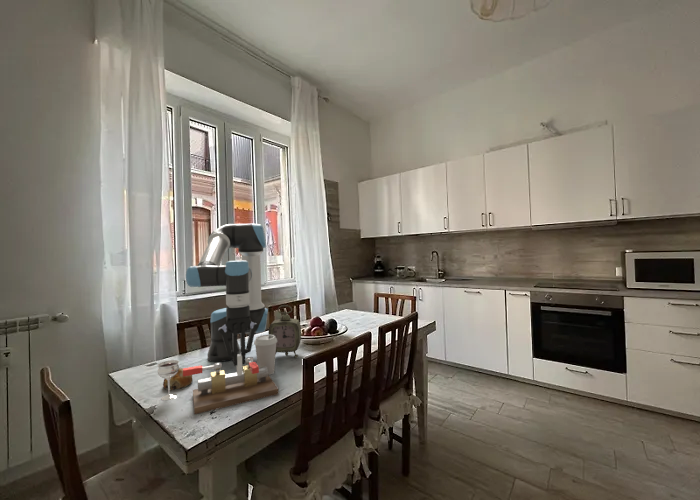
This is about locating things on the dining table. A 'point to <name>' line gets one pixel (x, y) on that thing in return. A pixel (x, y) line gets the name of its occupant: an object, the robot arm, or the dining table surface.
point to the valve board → (233, 395)
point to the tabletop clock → (286, 333)
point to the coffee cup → (266, 352)
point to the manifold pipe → (230, 380)
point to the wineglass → (168, 375)
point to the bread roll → (178, 381)
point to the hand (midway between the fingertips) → (239, 374)
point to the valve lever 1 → (200, 369)
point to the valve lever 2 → (252, 365)
